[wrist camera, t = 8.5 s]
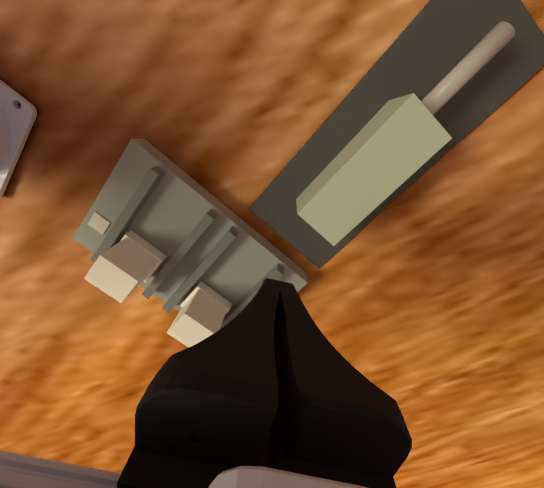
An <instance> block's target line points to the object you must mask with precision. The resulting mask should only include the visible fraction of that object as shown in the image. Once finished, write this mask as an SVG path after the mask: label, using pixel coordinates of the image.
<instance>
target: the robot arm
mask: <svg viewBox="0 0 544 488" xmlns="http://www.w3.org/2000/svg"><path fill="white" fill-rule="evenodd" d="M19 102H20V104H21V108H20V107H19ZM36 117H37V110H36V108H35V107H34V106H33V105H32V104H31V103H30V102H29V101H27V100H26V99H25V98H23V97H22V96H21V95H20V94H18V93H17V92H16V91H14V90H13V89H12V88H11V87H9V86H8V85H7V84H5V83H4V82H3V81H2V80H0V197H2V196H3V194H4V192H5V190H6V187H7V185H8V183H9V180H10V178H11V175H12V173H13V171H14V168H15V166H16V164H17V161H18V159H19V157H20V154H21V152H22V150H23V147H24V145H25V143H26V140H27V138H28V135H29V133H30V131H31V128H32V126H33V124H34V121H35V119H36ZM411 448H412V439H411V437H410V434H409V431H408V429H407V426H406V423H405V421H404V418H403V415H402V413H401V411H400V409H399V407H398V405H397V403H396V400H394V399H393V398H392V397H390V396H389V395H388V394H386V393H385V392H384V391H382V390H381V389H380V388H378V387H377V386H376V385H374V384H373V383H372V382H370V381H369V380H368V379H367V378H366V377H364V376H363V375H362V374H361V373H360V372H359V371H357V370H356V369H355V368H354V367H353V366H352V365H351V364H350V363H349V362H348V361H347V360H346V359H345V358H344V357H343V356H342V355H341V354H340V353H339V352H338V351H337V350H336V349H335V348H334V347H333V346H332V345H331V344H330V342H329V341H328V340H327V339H326V337H325V336H324V335H323V334H322V333H321V331H320V330H319V329H318V327H317V326H316V324H315V323H314V321H313V320H312V318H311V317H310V315H309V313H308V311H307V310H306V308H305V306H304V304H303V303H302V301H301V299H300V297H299V295H298V293H297V291H296V289H295V286H294V285H293V284H292V283H287V282H283V281H278V280H274V279H269V278H266V279H264V280H263V283H262V285H261V287H260V289H259V290H258V292H257V293H256V295H255V296H254V297H253V299H252V300H251V301H250V302H249V303H248V305H247V306H246V307H245V308H244V309H243V310H242V311H241V312H240V313H239V314H238V315H237V316H236V317H235V318H234V319H232V320H231V321H230V322H229V323H228V324H226V325H225V326H224V327H222V328H221V329H220V330H218V331H217V332H215V333H214V334H212V335H211V336H209V337H207V338H206V339H204V340H202V341H201V342H199V343H197V344H195V345H193V346H191V347H189V348H187V349H185V350H183V351H180V352H178V353H176V354H173V355H172V356H171V357H170V358H169V359H168V360H167V361H166V363H165V364H164V365H163V366H162V368H161V369H160V370H159V371H158V373H157V374H156V376H155V377H154V378H153V380H152V381H151V383H150V384H149V386H148V388H147V389H146V391H145V393H144V395H143V397H142V399H141V400H140V402H139V404H138V406H137V409H136V414H135V447H134V449H133V451H132V453H131V455H130V457H129V459H128V461H127V463H126V465H125V467H124V469H123V471H122V473H121V474H119V473H114V472H109V471H104V470H99V469H94V468H89V467H83V466H78V465H73V464H68V463H63V462H58V461H52V460H47V459H42V458H37V457H32V456H27V455H22V454H16V453H11V452H6V451H1V450H0V488H396V485H395V482H394V478H393V476H394V475H395V473H396V472H397V471H398V469H399V468H400V466H401V465H402V464H403V462H404V461H405V460H406V458H407V456H408V454H409V452H410V450H411Z"/></svg>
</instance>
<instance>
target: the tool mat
mask: <svg viewBox="0 0 544 488" xmlns="http://www.w3.org/2000/svg"><path fill="white" fill-rule="evenodd" d="M499 22H508V23H509V24H511V25H512V26H513V28H514V30H515V36H514V37H513V38H512V39H511V40H510V41H509V42H508V43H507V44H506V45H505V46H504V47H503V48H502V49H501V50H500V51H499V52H498V53H497V54H496V55H495V56H494V57H493V58H492V59H491V60H489V61H488V62H487V63H486V64H485V65H484V66H483V67H482V68H481V69H480V70H479V71H478V72H477V73H476V74H475V75H474V76H473V77H472V78H471V79H470V80H469V81H468V82H467V83H466V84H465V85H464V86H463V87H462V88H461V89H460V90H459V91H458V92H457V93H456V94H455V95H454V96H453V97H451V98H450V99H449V100H448V101H447V102H446V103H445V104H444V105H443V106H442V107H441V108H440V109H439V110H438V111H437V112H436V113H435V114H434V115H433V116H434V117H435V118H436V120H437V121H438V122H439V123H440V124H441V125H442V127H443V128H444V129H445V130H446V131H447V133H448V134H449V135H450V136H451V137H452V139H451V140H450V141H449V142H447V143H446V144H445V145H444V146H443V147H442V148H441V149H440V150H439V151H438V152H437V153H435V154H434V155H433V156H432V157H431V158H430V159H429V160H428V161H427V162H426V163H424V164H423V165H422V166H421V167H420V168H419V169H418V170H417V171H416V172H415V173H414V174H412V175H411V176H410V177H409V178H408V179H407V180H406V181H405V182H404V183H403V184H401V185H400V186H399V187H398V188H397V189H396V190H395V191H394V192H393V193H392V194H391V195H389V196H388V197H387V198H386V199H385V200H384V201H383V202H382V203H381V204H380V205H379V206H377V207H376V208H375V209H374V210H373V211H372V212H371V213H370V214H369V215H368V216H366V217H365V218H364V219H363V220H362V221H361V222H360V223H359V224H358V225H357V226H356V227H354V228H353V229H352V230H351V231H350V232H349V233H348V234H347V235H346V236H345V237H344V238H342V239H341V240H340V241H339V242H338V243H337V244H336V245H335V246H333V245H332V244H331V243H330V242H328V241H327V240H326V239H325V238H324V237H323V236H322V235H321V234H319V233H318V232H317V231H316V230H315V229H314V228H313V227H311V226H310V225H309V224H308V223H307V222H306V221H305V220H304V219H302V218H301V217H300V216H299V215H298V214H297V204H296V199H297V198H298V197H299V195H300V194H301V193H302V192H303V191H304V190H305V189H306V188H307V187H308V186H309V185H310V184H311V183H312V182H313V181H314V180H315V178H316V177H317V176H318V175H319V174H320V173H321V172H322V171H323V170H324V169H325V168H326V167H327V166H328V165H329V164H330V162H331V161H332V160H333V159H334V158H335V157H336V156H337V155H338V154H339V153H340V152H341V151H342V150H343V149H344V148H345V146H346V145H347V144H348V143H349V142H350V141H351V140H352V139H353V138H354V137H355V136H356V135H357V134H358V133H359V132H360V130H361V129H362V128H363V127H364V126H365V125H366V124H367V123H368V122H369V121H370V120H371V119H372V118H373V117H374V116H375V114H376V113H377V112H378V111H379V110H380V109H381V108H382V107H383V106H384V105H385V104H386V103H387V102H388V101H389V100H392V99H395V98H399V97H402V96H405V95H409V94H412V93H414V94H415V95H416V96H417V97H418V99H419V100H420V101H422V100H423V99H424V98H425V97H426V96H427V95H428V94H429V93H430V92H431V91H432V90H433V89H434V87H435V86H436V85H437V84H438V83H439V82H440V81H441V80H442V79H443V78H444V77H445V76H446V75H447V74H448V73H449V72H450V71H451V70H452V69H453V68H454V67H455V66H456V65H457V64H458V63H459V62H460V61H461V60H462V59H463V58H464V57H465V56H466V55H467V54H468V53H469V52H470V51H471V50H472V49H473V48H474V47H475V46H476V45H477V44H478V43H479V42H480V41H481V40H482V39H483V38H484V37H485V36H486V35H487V34H488V33H489V32H490V31H491V30H492V29H493V28H494V27H495V26H496V25H497V24H498V23H499ZM543 66H544V35H543V33H542V32H541V30H540V29H539V27H538V26H537V24H536V23H535V21H534V20H533V18H532V17H531V15H530V14H529V12H528V11H527V9H526V8H525V6H524V5H523V3H522V2H521V0H430V1H429V2H428V4H427V5H426V6H425V7H424V8H423V9H422V10H421V12H420V13H419V14H418V15H417V16H416V17H415V19H414V20H413V21H412V22H411V23H410V24H409V25H408V27H407V28H406V29H405V30H404V31H403V32H402V33H401V35H400V36H399V37H398V38H397V39H396V40H395V41H394V43H393V44H392V45H391V46H390V47H389V48H388V50H387V51H386V52H385V53H384V54H383V55H382V56H381V58H380V59H379V60H378V61H377V62H376V63H375V64H374V66H373V67H372V68H371V69H370V70H369V71H368V72H367V74H366V75H365V76H364V77H363V78H362V79H361V81H360V82H359V83H358V84H357V85H356V86H355V87H354V89H353V90H352V91H351V92H350V93H349V94H348V95H347V97H346V98H345V99H344V100H343V101H342V102H341V104H340V105H339V106H338V107H337V108H336V109H335V110H334V112H333V113H332V114H331V115H330V116H329V117H328V118H327V120H326V121H325V122H324V123H323V124H322V125H321V126H320V128H319V129H318V130H317V131H316V132H315V133H314V135H313V136H312V137H311V138H310V139H309V140H308V141H307V143H306V144H305V145H304V146H303V147H302V148H301V149H300V151H299V152H298V153H297V154H296V155H295V156H294V157H293V159H292V160H291V161H290V162H289V163H288V164H287V166H286V167H285V168H284V169H283V170H282V171H281V172H280V174H279V175H278V176H277V177H276V178H275V179H274V180H273V182H272V183H271V184H270V185H269V186H268V187H267V188H266V190H265V191H264V192H263V193H262V194H261V195H260V197H259V198H258V199H257V200H256V201H255V202H254V203H253V205H252V206H251V207H250V208H249V210H250V211H252V212H253V213H254V214H255V215H256V216H257V217H259V218H260V219H261V220H262V221H263V222H265V223H266V224H267V225H268V226H269V227H270V228H272V229H273V230H274V231H275V232H276V233H278V234H279V235H280V236H281V237H282V238H284V239H285V240H286V241H287V242H288V243H289V244H291V245H292V246H293V247H294V248H295V249H297V250H298V251H299V252H300V253H301V254H302V255H304V256H305V257H306V258H307V259H308V260H310V261H311V262H312V263H313V264H314V265H316V266H317V267H318V268H320V267H321V266H322V265H323V264H324V263H325V262H326V261H327V260H329V259H330V258H331V257H332V256H333V255H334V254H335V253H336V252H337V251H339V250H340V249H341V248H342V247H343V246H344V245H345V244H346V243H347V242H349V241H350V240H351V239H352V238H353V237H354V236H355V235H356V234H357V233H359V232H360V231H361V230H362V229H363V228H364V227H365V226H366V225H367V224H369V223H370V222H371V221H372V220H373V219H374V218H375V217H376V216H377V215H379V214H380V213H381V212H382V211H383V210H384V209H385V208H386V207H387V206H389V205H390V204H391V203H392V202H393V201H394V200H395V199H396V198H397V197H399V196H400V195H401V194H402V193H403V192H404V191H405V190H406V189H407V188H409V187H410V186H411V185H412V184H413V183H414V182H415V181H416V180H417V179H419V178H420V177H421V176H422V175H423V174H424V173H425V172H426V171H427V170H429V169H430V168H431V167H432V166H433V165H434V164H435V163H436V162H437V161H439V160H440V159H441V158H442V157H443V156H444V155H445V154H446V153H447V152H449V151H450V150H451V149H452V148H453V147H454V146H455V145H456V144H457V143H459V142H460V141H461V140H462V139H463V138H464V137H465V136H466V135H467V134H469V133H470V132H471V131H472V130H473V129H474V128H475V127H476V126H477V125H479V124H480V123H481V122H482V121H483V120H484V119H485V118H486V117H487V116H489V115H490V114H491V113H492V112H493V111H494V110H495V109H496V108H497V107H499V106H500V105H501V104H502V103H503V102H504V101H505V100H506V99H507V98H509V97H510V96H511V95H512V94H513V93H514V92H515V91H516V90H517V89H519V88H520V87H521V86H522V85H523V84H524V83H525V82H526V81H527V80H529V79H530V78H531V77H532V76H533V75H534V74H535V73H536V72H538V71H539V70H540V69H541V68H542V67H543Z"/></svg>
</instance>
